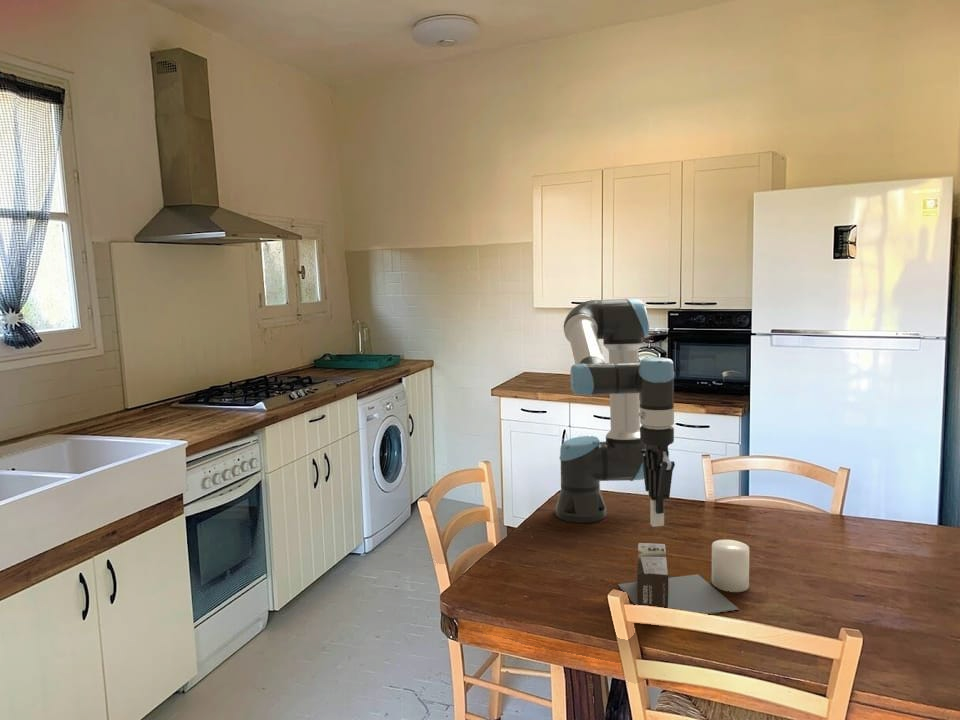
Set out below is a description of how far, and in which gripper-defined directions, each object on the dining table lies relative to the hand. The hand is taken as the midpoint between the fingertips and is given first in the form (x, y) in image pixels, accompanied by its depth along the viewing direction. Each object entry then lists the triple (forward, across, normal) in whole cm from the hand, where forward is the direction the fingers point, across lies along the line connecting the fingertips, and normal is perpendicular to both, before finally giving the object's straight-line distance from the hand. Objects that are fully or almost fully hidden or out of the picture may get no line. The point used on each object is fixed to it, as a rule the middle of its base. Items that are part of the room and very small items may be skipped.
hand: (657, 524), depth 151 cm
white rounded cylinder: (+14, +6, +15) cm, 21 cm away
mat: (+13, +9, 0) cm, 16 cm away
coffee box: (+9, 0, -2) cm, 9 cm away
